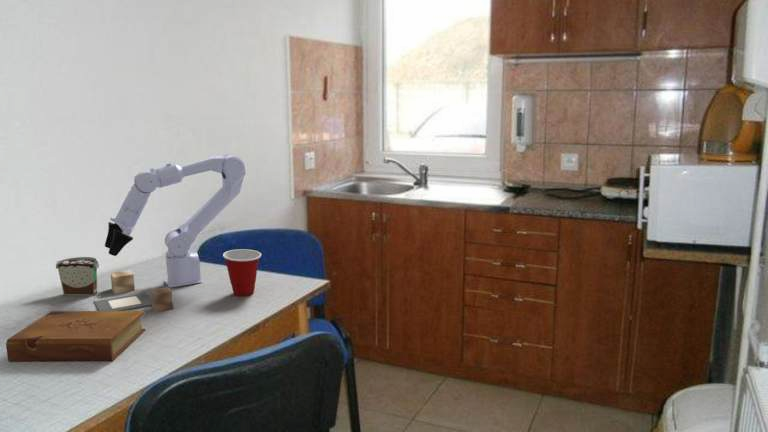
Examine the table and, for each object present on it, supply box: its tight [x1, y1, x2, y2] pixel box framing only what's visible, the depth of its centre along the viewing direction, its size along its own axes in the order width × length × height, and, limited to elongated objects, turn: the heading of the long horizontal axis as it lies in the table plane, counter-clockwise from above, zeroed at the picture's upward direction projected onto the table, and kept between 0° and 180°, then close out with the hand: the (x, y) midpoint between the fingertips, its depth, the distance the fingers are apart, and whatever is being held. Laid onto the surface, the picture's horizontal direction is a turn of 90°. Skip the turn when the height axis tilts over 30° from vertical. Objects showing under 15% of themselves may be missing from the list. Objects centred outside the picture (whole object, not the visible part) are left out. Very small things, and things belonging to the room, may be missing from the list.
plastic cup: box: [222, 248, 262, 297], centre depth 183 cm, size 11×11×12 cm
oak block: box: [109, 269, 136, 294], centre depth 190 cm, size 6×6×5 cm
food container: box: [55, 256, 100, 297], centre depth 187 cm, size 12×6×10 cm, turn 84°
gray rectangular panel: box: [94, 292, 152, 311], centre depth 177 cm, size 14×12×1 cm
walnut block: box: [150, 286, 174, 313], centre depth 172 cm, size 4×4×5 cm
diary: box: [5, 310, 146, 363], centre depth 148 cm, size 23×19×6 cm
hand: (110, 251), depth 186 cm, fingers open, 7 cm apart
